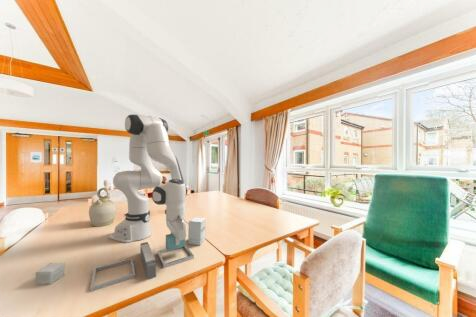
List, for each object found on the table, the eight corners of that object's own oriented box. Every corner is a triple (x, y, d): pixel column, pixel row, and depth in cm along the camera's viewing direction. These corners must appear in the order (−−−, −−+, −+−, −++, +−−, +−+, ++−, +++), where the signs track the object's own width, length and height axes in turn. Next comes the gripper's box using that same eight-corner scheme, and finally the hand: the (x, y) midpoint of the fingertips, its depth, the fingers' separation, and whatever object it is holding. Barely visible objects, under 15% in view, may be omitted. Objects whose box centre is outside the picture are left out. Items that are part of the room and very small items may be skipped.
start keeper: (194, 258, 83) (194, 255, 83) (163, 267, 76) (163, 265, 76) (184, 246, 94) (184, 243, 94) (157, 253, 87) (157, 251, 87)
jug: (102, 219, 133) (103, 185, 133) (121, 220, 131) (121, 186, 131) (82, 226, 118) (82, 189, 118) (102, 228, 116) (103, 190, 116)
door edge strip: (156, 276, 70) (156, 262, 70) (147, 279, 68) (147, 265, 68) (147, 251, 88) (147, 241, 88) (140, 253, 86) (140, 242, 86)
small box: (50, 275, 70) (50, 262, 70) (65, 274, 70) (65, 262, 70) (34, 285, 64) (34, 271, 64) (50, 285, 65) (51, 271, 65)
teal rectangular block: (167, 251, 81) (168, 238, 81) (165, 247, 85) (165, 234, 85) (184, 246, 86) (185, 234, 86) (182, 243, 89) (182, 231, 89)
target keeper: (135, 277, 70) (135, 273, 70) (90, 291, 62) (90, 288, 62) (132, 260, 81) (132, 257, 81) (93, 270, 73) (93, 267, 73)
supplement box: (200, 245, 95) (200, 222, 95) (187, 244, 97) (188, 221, 97) (205, 239, 102) (206, 217, 102) (193, 238, 104) (194, 216, 104)
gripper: (190, 218, 79) (189, 249, 79) (176, 207, 95) (175, 232, 95) (175, 221, 75) (174, 253, 75) (164, 209, 92) (163, 235, 92)
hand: (175, 242), depth 85 cm, fingers closed on teal rectangular block, 4 cm apart
